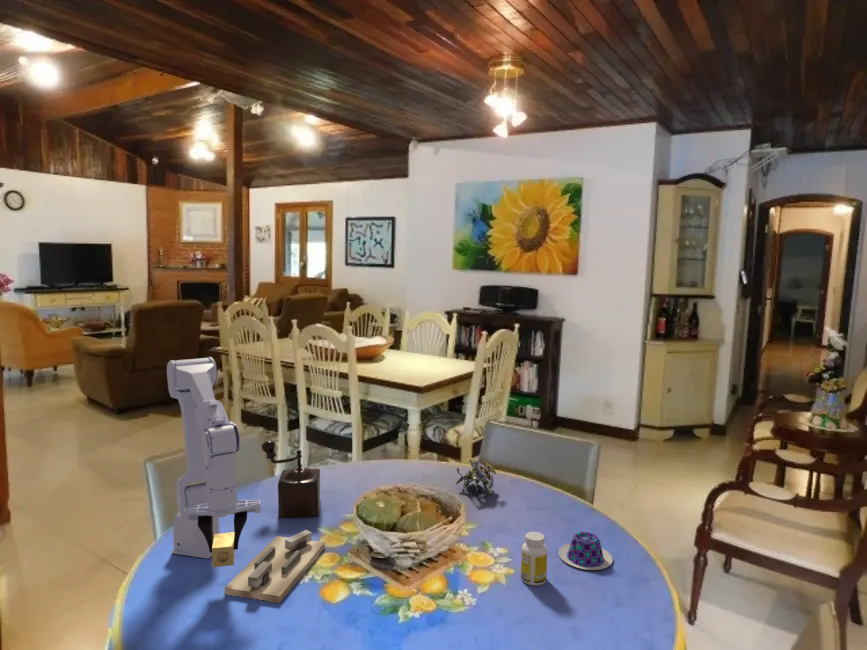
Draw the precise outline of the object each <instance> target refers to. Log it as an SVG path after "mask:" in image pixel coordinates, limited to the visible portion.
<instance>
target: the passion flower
mask: <svg viewBox="0 0 867 650" xmlns="http://www.w3.org/2000/svg"><path fill="white" fill-rule="evenodd" d="M469 464H470V466H471V467H472V469H469V470H467V471H468V472H466V473H465V475H462V474H461V472H460V468H459V467H456V472H457V474H458V475H459V476H460V478H459V479H458V480H457V481H456V483H455V485H459V483H461V482H463V487H462V490H461V492H464V491H465V488H467V487H469V486H470V484H471V483H472V482H473V481H474V482H475V485H477V484H479V483H480V481H481V482H482V486H483V490H484V493H486V495H488V496H489V495H492V494H493V490H492V488H493V487H494V476H493V475H492V474H494V475H496V473H497V472H496V470H495V469H494V468H493V466H492V464H491V462H487V463H486V465H484V464H483V463H482V462H481V461H479V462H478V460H476V461H475V462H474V458H472V459H469ZM491 473H492V474H491Z"/></svg>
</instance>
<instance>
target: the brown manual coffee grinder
mask: <svg viewBox="0 0 867 650" xmlns="http://www.w3.org/2000/svg"><path fill="white" fill-rule="evenodd" d="M276 446H277V444H276V442H275V441H274V440H271V439H268V440H265V441H264V442H263V443H262V444H261V449H262V451H263V452H264V453H265V454H266V456H265V458H266V459H269V461H270V462H271V463H272V464H284V463H289V462H293V461H295V460H297V466H296V467H294V468H292V469H291V468H290V469H282V471H281V473H280V475H279V478H278V481H277V482H278V484H277V501H278V506H277V507H278V511H277V513H278V519H281V518H290V519H307V518H318V517H319V515H320V508H321V503H322V502H321V469H320V468H309V467H304V466H303V465H302V460H301V459H302V458H303V456H302V450H301V449H297V450H296V456H294V457H290V458H284V459H283V458H282V459H275V457H276V456H277V453H276V452H275V449H276Z"/></svg>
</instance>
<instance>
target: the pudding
mask: <svg viewBox="0 0 867 650" xmlns="http://www.w3.org/2000/svg"><path fill="white" fill-rule="evenodd" d="M558 556H559V558H560V559H561V560H562V561H563V562H565V563H566V564H568V565H570V566H571V567H575V568H577V569H581V570H588V571H589V570H590V571H598V570H603V569H606V568H608V567H610V566H611V565H612V564H613V561H614V559H613V556H612V554H611V553H610V552H608V551H607V550H606V549H604V548H603V547H602V544H601V540H600V538H599V537H598V536H597V535H596V534H593V533H591V532H587V531H585V532H583V531H578V532H576V533H575V534H573V535H572V538H571V541H570V543H567V544H564V545H562V546H561V547H560V548H559V550H558ZM602 562H603V563H602Z"/></svg>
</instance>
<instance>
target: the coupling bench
mask: <svg viewBox="0 0 867 650" xmlns="http://www.w3.org/2000/svg"><path fill="white" fill-rule="evenodd" d="M312 533H313V532H311V531H309V530H308V529H304V530H303V531H300V532H298V533H296V534H293V535H292V536H290V537H287V536H286V537H285V536H280V535H279V536H278V535H277V536H276V537H274V538H273V540H272V541H270V542H269V544H267V545H266V546H265V547H264V548H263V549H262V550H261V551H260V552H259V553H258V554H257V555H256V556H255V557H254V558H253V559H252V560H251V561H250V562H249V563H248V564H247V565H246V566H245V567H244V568H243V569H242V570H241V571H240V572H238V574H237V575H236V576H235V577H234V578H233V579H232V580H231V581H230V582H228V584H226V586H225V587H224V595H225V594H227V595H226V596H231V595H232V597H237V596H240V597H239V598H243V597H246V598H245V599H249V598H253V599H252V600H256V599H259V600H258V601H262V600H265V601H264V602H268V601H269V603H275V602H276V603H277V604H281V602H283V600H284V599H285V598H284V597H287V595H288V594H289V593H290V591H291V590H292V589H293V588H294V587H295V586H296V584H297V583H298V582H299V581H300V579H301V578H302V577H303V576H302V575H304V574H305V573H306V572H307V571H306V570H309V568H310V567H311V566H312V565H313V563H314V562H315V561H316V560H317V559H318V557H319V556H320V555H321V554H322V553H323V551H324V550H325V549H324V548H325V545H326V544H325V542H324V541H317V540H313V539H312ZM323 549H324V550H323ZM320 553H321V554H320ZM319 554H320V555H319ZM318 555H319V556H318ZM315 559H316V560H315ZM314 560H315V561H314ZM311 564H312V565H311ZM310 565H311V566H310ZM301 576H302V577H301ZM297 581H298V582H297ZM293 586H294V587H293ZM292 587H293V588H292ZM288 592H289V593H288Z"/></svg>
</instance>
